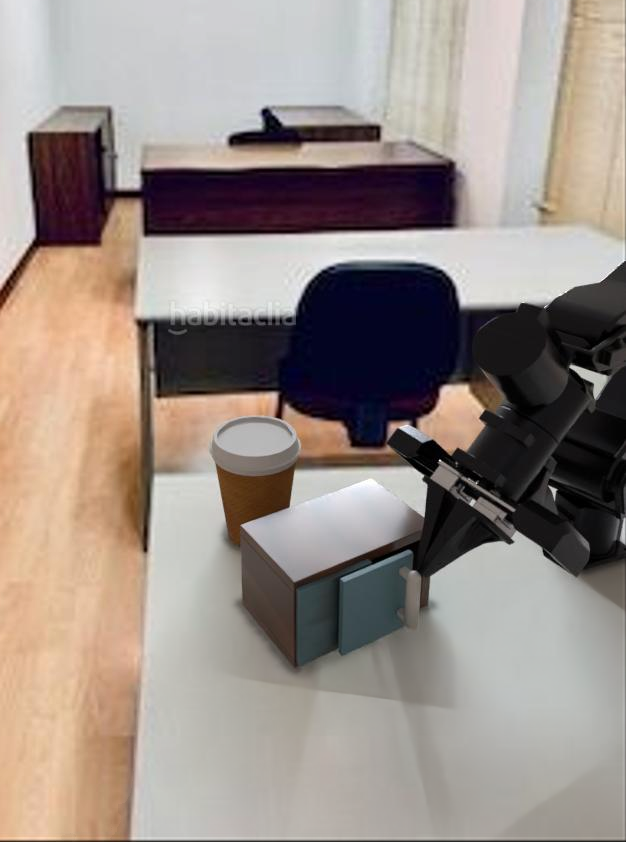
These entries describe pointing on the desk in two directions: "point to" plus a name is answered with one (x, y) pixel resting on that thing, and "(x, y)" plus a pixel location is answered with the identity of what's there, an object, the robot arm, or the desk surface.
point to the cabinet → (320, 562)
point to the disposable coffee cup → (254, 468)
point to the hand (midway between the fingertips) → (420, 574)
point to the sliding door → (378, 602)
